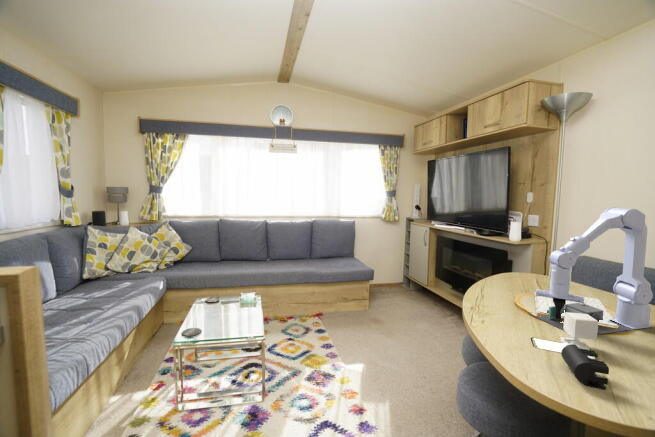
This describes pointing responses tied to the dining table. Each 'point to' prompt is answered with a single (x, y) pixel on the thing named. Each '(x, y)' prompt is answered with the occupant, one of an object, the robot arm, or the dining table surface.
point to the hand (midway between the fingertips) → (557, 317)
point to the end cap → (585, 366)
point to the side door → (554, 311)
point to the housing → (584, 310)
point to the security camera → (579, 329)
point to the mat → (559, 325)
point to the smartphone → (552, 346)
